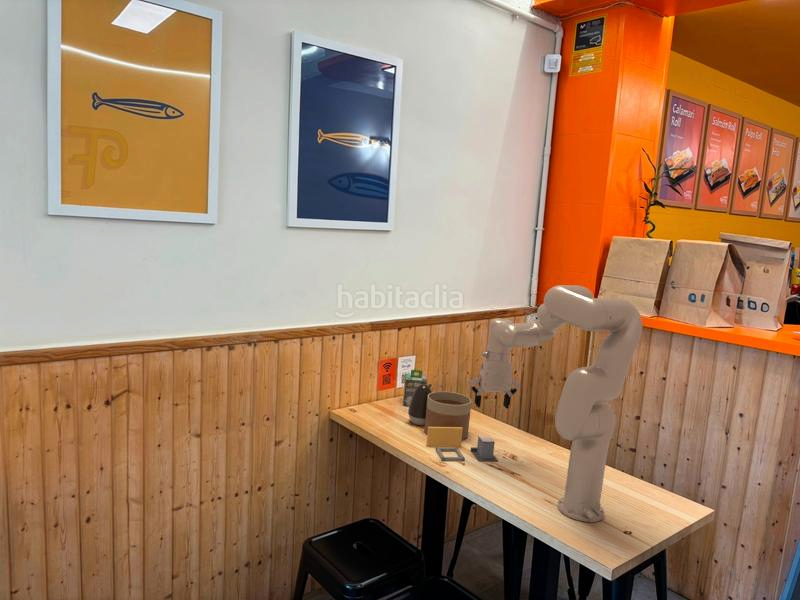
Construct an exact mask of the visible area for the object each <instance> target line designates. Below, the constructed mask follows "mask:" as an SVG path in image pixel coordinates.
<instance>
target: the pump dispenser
mask: <svg viewBox="0 0 800 600" xmlns="http://www.w3.org/2000/svg"><path fill="white" fill-rule="evenodd" d="M431 387H432V384H431V383H429V384H427V385H426V384H421V385H419V386H418V387H417V388H416V390H415V392H414V394H413V396H412V399H411V401H410V405H409V406H408V409H407V415H408V417H409V420H410V421H411V422H412V423H413V424H415V425H417V426H422V427H423V426H425V418H426V408H427V398H428V394H430V393H432V392H433V390H432V389H431Z"/></svg>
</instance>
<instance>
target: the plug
mask: <svg viewBox="0 0 800 600" xmlns="http://www.w3.org/2000/svg"><path fill="white" fill-rule="evenodd" d="M495 443H496V441H495V440H494V439H493V437H491V435H478V436H477V445H476V447H477V454H478V456H479V457H480V458H481V459H493V455H494V451H495Z"/></svg>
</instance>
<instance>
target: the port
mask: <svg viewBox="0 0 800 600" xmlns="http://www.w3.org/2000/svg"><path fill="white" fill-rule="evenodd" d="M462 432H463V428H462V427H428V433H427V434H426V447H427V448H428V447H435V453H436V454H437V456H438V457H439V459H440V460H441V462H465V460H466V458H465V456H464V455H463V453H462V452H461V451H460V448H462V441H463V440H462ZM443 452H444V453H445V452H446V453H447V452H448V453H455V454H456V455H457V456H445V455H444V454H443Z"/></svg>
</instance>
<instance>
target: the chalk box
mask: <svg viewBox="0 0 800 600" xmlns="http://www.w3.org/2000/svg"><path fill="white" fill-rule="evenodd" d="M416 373H418V374H416ZM421 384H426V385H428V380H427V375H426V374H423V370H422V369H411V370H410V373H406V374H404V383H403V396H402V397H403V399H402V402H403V406H404V407H409V405H410V401H411V399H412V396H413V394H414V392H415V390H416V388H417V387H418V386H419V385H421Z"/></svg>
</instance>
